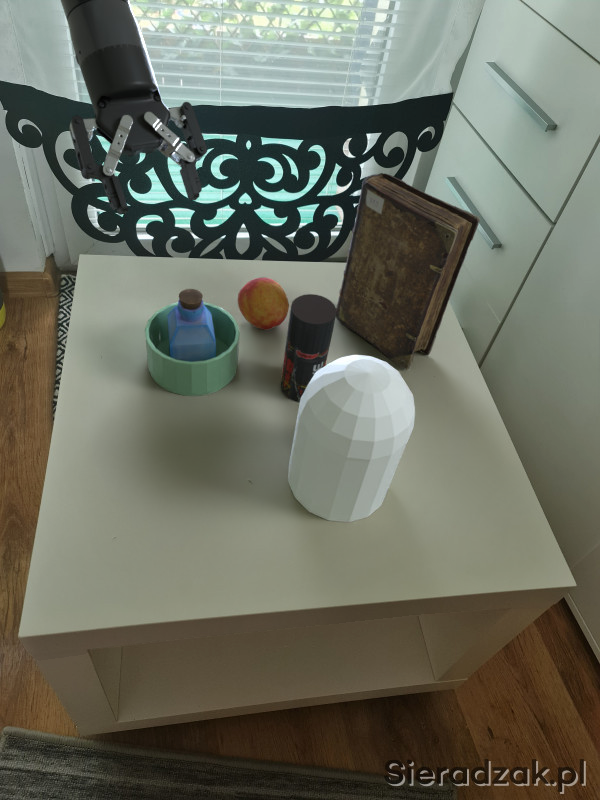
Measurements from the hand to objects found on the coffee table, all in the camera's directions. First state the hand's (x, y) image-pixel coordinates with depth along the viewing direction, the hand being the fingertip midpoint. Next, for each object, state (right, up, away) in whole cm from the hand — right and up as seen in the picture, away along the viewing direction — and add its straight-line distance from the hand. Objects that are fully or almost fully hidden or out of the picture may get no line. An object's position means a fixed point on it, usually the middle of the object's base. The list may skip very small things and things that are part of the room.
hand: (160, 205), depth 70 cm
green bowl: (0, -17, +21) cm, 27 cm away
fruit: (+10, -10, +29) cm, 32 cm away
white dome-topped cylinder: (+21, -33, +11) cm, 40 cm away
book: (+29, -12, +31) cm, 44 cm away
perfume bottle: (0, -16, +21) cm, 27 cm away
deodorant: (+16, -20, +21) cm, 33 cm away
